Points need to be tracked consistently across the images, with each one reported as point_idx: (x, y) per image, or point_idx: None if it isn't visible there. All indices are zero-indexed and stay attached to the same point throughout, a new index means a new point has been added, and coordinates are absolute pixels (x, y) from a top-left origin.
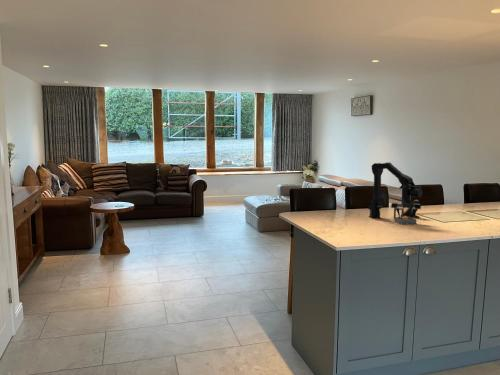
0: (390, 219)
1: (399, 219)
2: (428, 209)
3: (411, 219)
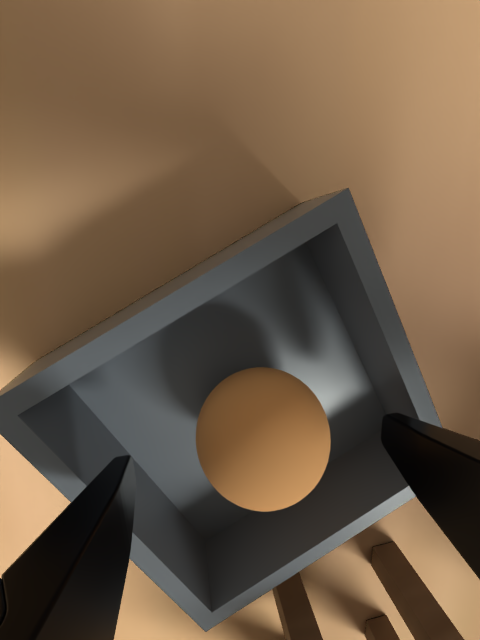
0: (432, 532)
1: (387, 306)
2: None
3: (110, 343)
